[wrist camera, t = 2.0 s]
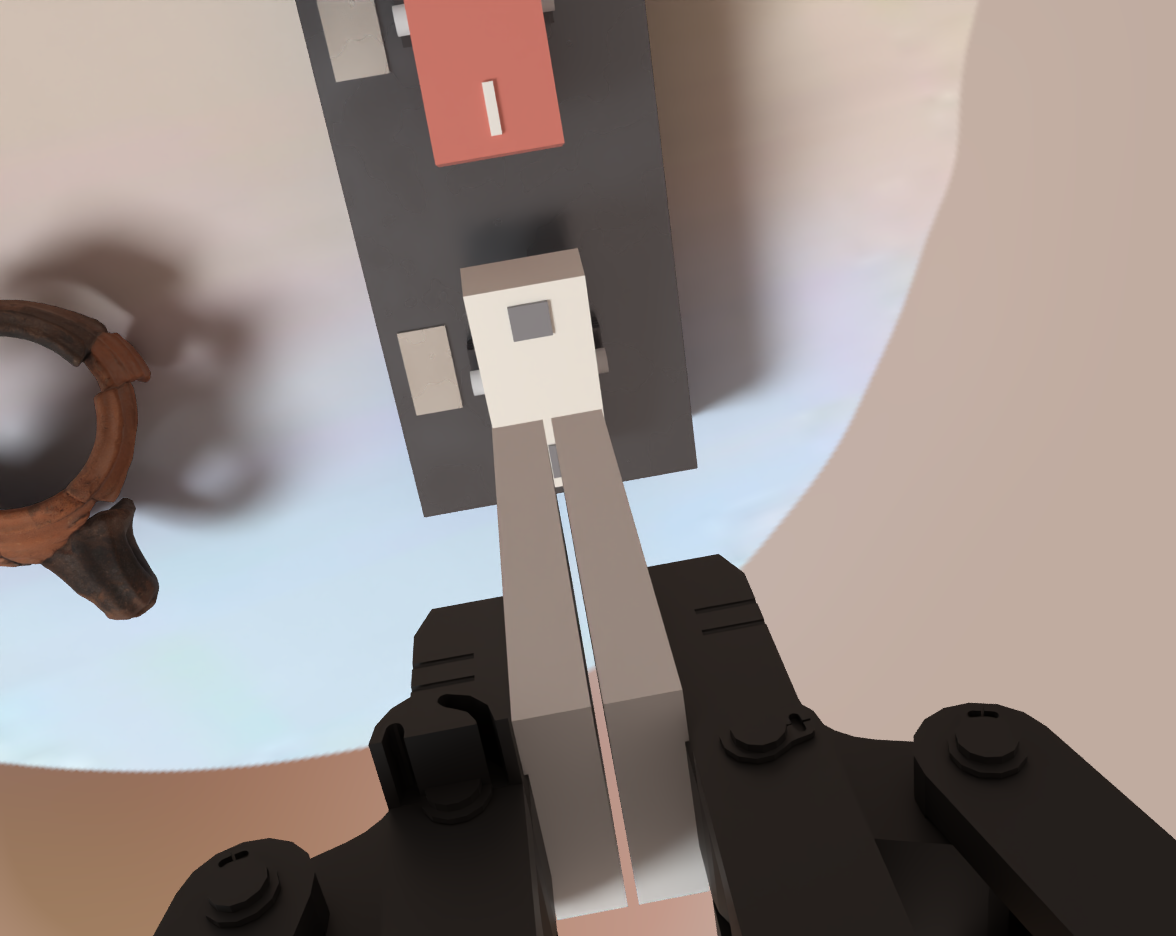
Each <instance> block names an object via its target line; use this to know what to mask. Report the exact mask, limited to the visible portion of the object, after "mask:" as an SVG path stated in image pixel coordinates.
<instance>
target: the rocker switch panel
mask: <svg viewBox="0 0 1176 936" xmlns="http://www.w3.org/2000/svg"><path fill="white" fill-rule="evenodd" d="M295 1H296V5H297V9H298V13H299V17H300V21H301V25H302V29H303V33H304V37H305V41H306V45H307V49H308V53H309V57H310V61H311V65H312V69H313V73H314V78H315V82H316V86H317V90H318V94H319V98H320V102H321V106H322V110H323V114H324V118H325V122H326V126H327V130H328V134H329V138H330V142H331V146H332V150H333V154H334V158H335V162H336V166H337V170H338V174H339V178H340V182H341V186H342V190H343V194H344V198H345V202H346V206H347V210H348V214H349V218H350V222H351V226H352V230H353V234H354V238H355V242H356V246H357V250H358V254H359V258H360V262H361V266H362V270H363V274H364V278H365V282H366V286H367V290H368V294H369V298H370V302H371V306H372V310H373V314H374V318H375V322H376V326H377V330H378V334H379V338H380V342H381V346H382V350H383V354H384V358H385V362H386V366H387V370H388V374H389V378H390V382H391V386H392V390H393V394H394V398H395V402H396V406H397V410H398V414H399V418H400V422H401V426H402V430H403V434H404V438H405V442H406V446H407V450H408V454H409V458H410V462H411V466H412V470H413V474H414V478H415V482H416V486H417V490H418V494H419V498H420V502H421V506H422V510H423V514H424V517H429V516H435V515H440V514H446V513H451V512H457V511H463V510H468V509H474V508H479V507H485V506H490V505H496V504H497V498H496V483H495V468H494V454H493V439H492V424H491V419H490V415H489V410H488V406H487V401H486V397H485V394H482V395H477V396H474V393H473V389H472V384H471V378H470V371H475V370H479V366H478V361H477V357H476V353H475V348H474V344H473V339H472V335H471V330H470V326H469V322H468V317H467V313H466V308H465V304H464V299H463V293H462V282H461V272H460V268H466V267H471V266H477V265H483V264H489V263H494V262H500V261H506V260H512V259H517V258H523V257H529V256H535V255H540V254H546V253H552V252H557V251H563V250H569V249H575V248H578V251H579V255H580V258H581V262H582V266H583V270H584V274H585V280H586V287H587V294H588V302H589V309H590V316H591V324H592V331H593V338H594V346H595V349H599V348H605V351H606V356H607V361H608V368H609V372H606V373H600V374H598V375H599V382H600V390H601V397H602V404H603V412H604V419H605V423H606V426H607V429H608V433H609V436H610V440H611V443H612V447H613V450H614V454H615V457H616V461H617V464H618V468H619V471H620V475H621V478H622V482H623V481H629V480H634V479H640V478H646V477H651V476H657V475H662V474H668V473H673V472H679V471H684V470H690V469H695V468H697V459H696V450H695V441H694V433H693V424H692V415H691V406H690V397H689V388H688V379H687V371H686V362H685V353H684V344H683V335H682V326H681V318H680V309H679V300H678V291H677V282H676V273H675V264H674V256H673V247H672V238H671V229H670V220H669V211H668V203H667V194H666V185H665V176H664V167H663V158H662V149H661V141H660V132H659V123H658V114H657V105H656V96H655V88H654V79H653V70H652V61H651V52H650V43H649V34H648V26H647V17H646V8H645V0H554V5H555V10H554V11H549V12H543V16H544V22H545V28H546V34H547V40H548V46H549V52H550V58H551V64H552V70H553V76H554V82H555V88H556V94H557V100H558V106H559V112H560V118H561V124H562V130H563V136H564V142H565V143H564V144H563V146H561V147H555V148H549V149H543V150H537V151H532V152H526V153H520V154H514V155H508V156H502V157H497V158H491V159H485V160H479V161H473V162H467V163H462V164H456V165H450V166H444V167H438V166H436V165H435V160H434V155H433V150H432V144H431V139H430V134H429V129H428V124H427V119H426V113H425V108H424V103H423V98H422V93H421V88H420V83H419V77H418V72H417V67H416V62H415V57H414V52H413V46H412V41H411V36H410V35H406V36H400V37H398V34H397V30H396V26H395V22H394V17H393V11H392V6H395V5H401V4H404V0H295ZM555 490H556V494H557V493H562V492H564V489H563V486H560V487H555Z"/></svg>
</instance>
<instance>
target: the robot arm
mask: <svg viewBox="0 0 1176 936" xmlns="http://www.w3.org/2000/svg"><path fill="white" fill-rule="evenodd" d="M551 422H552V427H553V433H554V438H555V444H556V449H557V455H558V461H559V466H560V472H561V477H562V483H563V489H564V494H565V500H566V505H567V511H568V517H569V522H570V528H571V533H572V539H573V545H574V550H575V556H576V561H577V567H578V573H579V578H580V583H581V589H582V594H583V600H584V605H585V611H586V616H587V622H588V627H589V633H590V638H591V644H592V649H593V655H594V660H595V666H596V671H597V676H598V682H599V687H600V693H601V698H602V704H603V709H604V715H605V720H606V725H607V731H608V737H609V742H610V748H611V753H612V759H613V764H614V769H615V775H616V780H617V786H618V791H619V797H620V802H621V808H622V813H623V819H624V824H625V830H626V835H627V841H628V846H629V851H630V857H631V862H632V868H633V873H634V879H635V884H636V890H637V895H638V901H639V904H643V903H649V902H655V901H660V900H665V899H670V898H676V897H681V896H686V895H691V894H696V893H702V892H707V891H709V886H710V890H711V894H712V898H713V905H714V912H715V920H716V927H717V935H718V936H1176V840H1175V839H1174V838H1173V837H1172V836H1171V835H1169V834H1168V833H1167V832H1166V831H1165V830H1164V829H1163V828H1162V827H1160V826H1159V825H1158V824H1157V823H1156V822H1155V821H1154V820H1152V819H1151V818H1150V817H1149V816H1148V815H1147V814H1146V813H1144V812H1143V811H1142V810H1141V809H1140V808H1139V807H1138V806H1136V805H1135V804H1134V803H1133V802H1132V801H1131V800H1129V799H1128V798H1127V797H1126V796H1125V795H1124V794H1123V793H1122V792H1120V791H1119V790H1118V789H1117V788H1116V787H1115V786H1114V785H1112V784H1111V783H1110V782H1109V781H1108V780H1107V779H1105V778H1104V777H1103V776H1102V775H1101V774H1100V773H1099V772H1098V771H1096V770H1095V769H1094V768H1093V767H1092V766H1091V765H1090V764H1089V763H1087V762H1086V761H1085V760H1084V759H1083V758H1082V757H1081V756H1080V755H1078V754H1077V753H1076V752H1075V751H1074V750H1073V749H1071V748H1070V747H1069V746H1068V745H1067V744H1066V743H1065V742H1064V741H1062V740H1061V739H1060V738H1059V737H1058V736H1057V735H1056V734H1054V733H1053V732H1052V731H1051V730H1050V729H1049V728H1047V726H1045V725H1043V724H1042V723H1040V722H1039V721H1037V720H1035V719H1034V718H1032V717H1031V716H1029V715H1027V714H1026V713H1024V712H1021V711H1017V710H1014V709H1011V708H1008V707H1004V706H1001V705H998V704H982V703H966V704H961V705H956V706H952V707H947V708H943V709H941V710H940V711H938V712H936V713H935V714H933V715H931V716H930V717H928V718H926V719H925V720H924V721H923V722H922V724H921V726H920V727H919V729H918V730H917V732H916V733H915V735H914V742H909V741H908V742H907V741H890V740H874V739H867V738H860V737H853V736H850V735H847V734H844V733H841V732H838V731H834V730H833V729H831V728H829V727H827V726H825V725H824V724H823V723H822V722H821V721H820V719H819V718H818V716H817V715H816V714H815V712H814V711H812V710H811V709H809V708H807V707H805V706H803V705H802V704H801V702H800V701H799V699H798V697H797V695H796V692H795V690H794V688H793V685H792V683H791V681H790V678H789V676H788V674H787V671H786V669H785V667H784V664H783V662H782V660H781V657H780V655H779V653H778V650H777V648H776V646H775V644H774V641H773V639H772V636H771V634H770V632H769V630H768V627H767V625H766V624H765V622H764V618H763V616H762V613H761V611H760V609H759V606H758V604H757V603H756V601H755V597H754V595H753V592H752V590H751V588H750V585H749V583H748V581H747V578H746V576H745V574H744V573H743V572H742V571H741V570H739V569H738V568H737V567H735V566H734V565H733V564H731V563H730V562H729V561H727V560H726V559H725V558H723V557H722V556H721V555H719V554H716V555H711V556H705V557H700V558H694V559H689V560H683V561H678V562H672V563H667V564H661V565H656V566H650V567H647V565H646V562H645V558H644V555H643V551H642V548H641V544H640V541H639V537H638V534H637V530H636V527H635V523H634V520H633V516H632V513H631V509H630V506H629V502H628V499H627V496H626V492H625V489H624V485H623V482H622V478H621V475H620V471H619V468H618V464H617V461H616V457H615V454H614V450H613V447H612V443H611V440H610V436H609V433H608V429H607V426H606V423H605V419H604V416H603V412H602V409H599V410H593V411H588V412H582V413H576V414H571V415H565V416H560V417H554V418H551ZM492 439H493V454H494V468H495V483H496V498H497V513H498V528H499V542H500V557H501V572H502V587H503V596H501V597H496V598H490V599H485V600H479V601H474V602H469V603H463V604H458V605H452V606H447V607H441V608H436V609H432V610H431V611H430V613H429V614H428V616H427V617H426V619H425V620H424V622H423V624H422V625H421V627H420V628H419V630H418V631H417V633H416V634H415V636H414V646H413V670H412V681H411V688H412V693H411V697H410V698H408V699H406V700H405V701H403V702H402V703H400V704H398V705H397V706H395V707H393V708H392V709H390V711H389V712H388V713H387V714H386V715H385V716H384V717H383V718H382V719H381V720H380V722H379V723H378V724H377V725H376V726H375V728H374V731H373V734H372V737H371V739H370V742H369V748H370V751H371V754H372V758H373V760H374V764H375V767H376V770H377V774H378V777H379V780H380V783H381V786H382V790H383V793H384V796H385V799H386V802H387V805H388V809H389V812H388V813H387V814H386V815H385V816H384V817H383V818H382V820H380V821H379V822H378V823H376V824H375V825H374V826H372V827H371V828H370V829H369V830H368V831H366V832H365V833H363V834H361V835H359V836H357V837H355V838H354V839H352V840H350V841H348V842H346V843H344V844H342V845H340V846H337V847H335V848H333V849H331V850H328V851H326V852H324V853H322V854H320V855H318V856H315V857H313V858H311V859H310V857H309V854H308V853H307V852H305V851H304V850H303V849H301V848H300V847H299V846H297V845H296V844H294V843H293V842H290V841H284V840H278V839H272V838H267V839H261V840H255V841H249V842H243V843H241V844H238V845H236V846H234V847H232V848H229V849H227V850H225V851H223V852H220V853H218V854H216V855H215V856H213V857H212V858H211V859H209V860H208V861H207V862H206V863H204V864H203V865H202V866H200V867H199V868H198V869H197V870H195V871H194V872H193V873H192V874H191V875H190V877H189V878H188V879H187V881H186V882H185V883H184V884H183V886H182V887H181V888H180V890H179V891H178V892H177V893H176V895H175V897H174V899H173V901H172V902H171V904H170V906H169V908H168V910H167V912H166V913H165V915H164V917H163V919H162V921H161V922H160V924H159V926H158V928H157V930H156V932H155V934H154V935H153V936H558V933H557V926H556V916H557V920H560V919H566V918H571V917H575V916H581V915H586V914H591V913H597V912H602V911H608V910H613V909H617V908H623V907H627V906H628V905H627V900H626V893H625V887H624V882H623V876H622V870H621V864H620V858H619V852H618V846H617V840H616V835H615V829H614V823H613V817H612V811H611V806H610V800H609V794H608V788H607V782H606V776H605V771H604V764H603V759H602V753H601V747H600V742H599V735H598V729H597V724H596V718H595V712H594V706H593V700H592V694H591V688H590V683H589V677H588V671H587V665H586V659H585V653H584V648H583V642H582V636H581V630H580V624H579V618H578V612H577V607H576V601H575V595H574V589H573V583H572V577H571V572H570V566H569V561H568V555H567V550H566V544H565V539H564V533H563V528H562V522H561V517H560V511H559V506H558V501H557V495H556V490H555V484H554V479H553V473H552V468H551V462H550V457H549V451H548V446H547V440H546V435H545V429H544V424H543V420H537V421H531V422H526V423H520V424H515V425H509V426H503V427H498V428H492ZM708 882H709V884H708ZM555 912H556V916H555Z"/></svg>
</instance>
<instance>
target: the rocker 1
mask: <svg viewBox="0 0 1176 936" xmlns="http://www.w3.org/2000/svg"><path fill="white" fill-rule="evenodd" d="M554 10H555V5H554V0H404V4H401V5H395V6H392V11H393V17H394V22H395V26H396V30H397V34H398V37H400V36H406V35H410V36H411V41H412V46H413V52H414V57H415V62H416V67H417V72H418V77H419V83H420V88H421V93H422V98H423V103H424V108H425V113H426V119H427V124H428V129H429V134H430V139H431V144H432V150H433V155H434V160H435V165H436V166H438V167H444V166H450V165H456V164H462V163H467V162H473V161H479V160H485V159H491V158H497V157H502V156H508V155H514V154H520V153H526V152H532V151H537V150H543V149H549V148H555V147H561V146H563V144H564V143H565V142H564V136H563V130H562V124H561V118H560V112H559V106H558V100H557V94H556V88H555V82H554V76H553V70H552V64H551V58H550V52H549V46H548V40H547V34H546V28H545V22H544V16H543V12H549V11H554Z"/></svg>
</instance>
